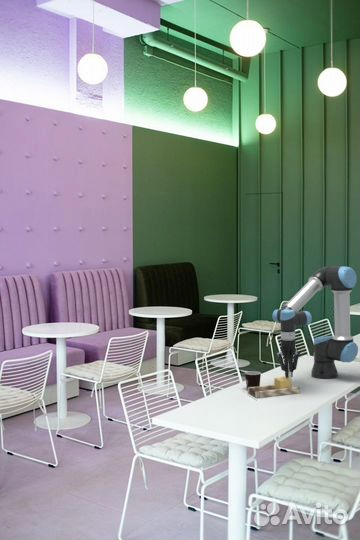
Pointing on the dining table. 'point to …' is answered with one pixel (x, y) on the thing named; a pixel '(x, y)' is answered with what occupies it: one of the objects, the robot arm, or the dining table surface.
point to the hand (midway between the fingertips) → (289, 383)
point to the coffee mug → (252, 379)
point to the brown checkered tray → (271, 391)
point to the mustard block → (282, 383)
